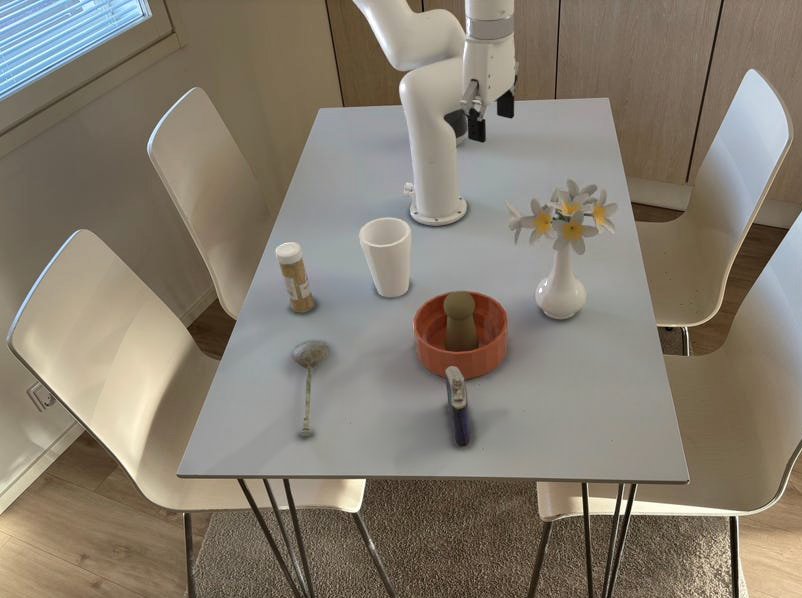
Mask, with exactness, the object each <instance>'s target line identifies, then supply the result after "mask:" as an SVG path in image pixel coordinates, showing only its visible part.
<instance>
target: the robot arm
mask: <svg viewBox="0 0 802 598" xmlns="http://www.w3.org/2000/svg"><path fill="white" fill-rule="evenodd" d="M351 1H352V2H353V3H354V4H355V6H357V8H358V9H359V10H360V12H361V13H362V14H363V15H364V17H365V18H366V20H367V22H368V24H369V26H370V28H371V30H372V32H373V34H374V36H375V38H376V40H377V42H378V44H379V45H380V48H381V49H382V51H383V53H384V55H385V57H386V59H387V60H388V61H389V63H390V65H391V66H392V67H393V68H394V69H395V70H396V71H400V72H407V73H406V74H405V75H404V76H403V77H402V79H401V80H400V82H399V88H398V92H399V98H400V102H401V105H402V109H403V112H404V116H405V120H406V124H407V131H408V139H409V148H410V155H411V166H412V176H413V183H412V182H409V181H407V182H405V184H404V186H403V188H404V190H403V192H402V196H403V197H405V198H410V200H411V204H410V205H409V214H410V216H411V217H412V219H413V220H415V221H416V222H418V223H419V224H422V225H426V226H433V227H439V226H445V225H449V224H453V223H455V222H457V221H459V220H461V219H462V218H463V217H464V216H465V215H466V213H467V206H468V205H467V202H466V201H467V200H466V199H465V198H464V197H463V196H461V195H460V189H459V171H458V170H459V168H458V152H457V151H458V150H457V146H456V136H455V132H454V130H453V128H452V127H451V126H450V125H449V124H448V123H447V122H446V121H445V120H444V118H443V117H444V116H445V115H446V114H448V113H451V112H453V111H456V110H459V109H463V114H464V115H465V117H466V119H467V127H468V129H467V138H468V139H469V140H470V141H473V142H478V143H481V144H483V143H485V142H486V140H487V133H486V132H487V128H486V127H487V126H486V119H485V118H484V116H485V113H486V110H487V107H488V106H489V105H491V104H492V103H494V102H495V101H496V115H497V116H498V117H503V118H506V119H509V120H510V119H513V118H514V117H515V95H516V92H517V88H516V84H517V81H518V72H519V67H520V62H519V61H517V60H516V49H515V38H514V35H515V0H464V11H465V31H464V29H463V27H462V25H461V23H460V21H459V20H458V18H457V17H456V16H455V15H454V14H453V13H452V12H450V11H449V10H447V9H443V8H435V9H430V10H427V11H423V12H419V13H418V12H414V11H413V10H412V9H411V7H410V5H409V4H408V2H407V0H351ZM476 105H477V106H479V108H478V110H477V109H476V108H475V106H476Z"/></svg>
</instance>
